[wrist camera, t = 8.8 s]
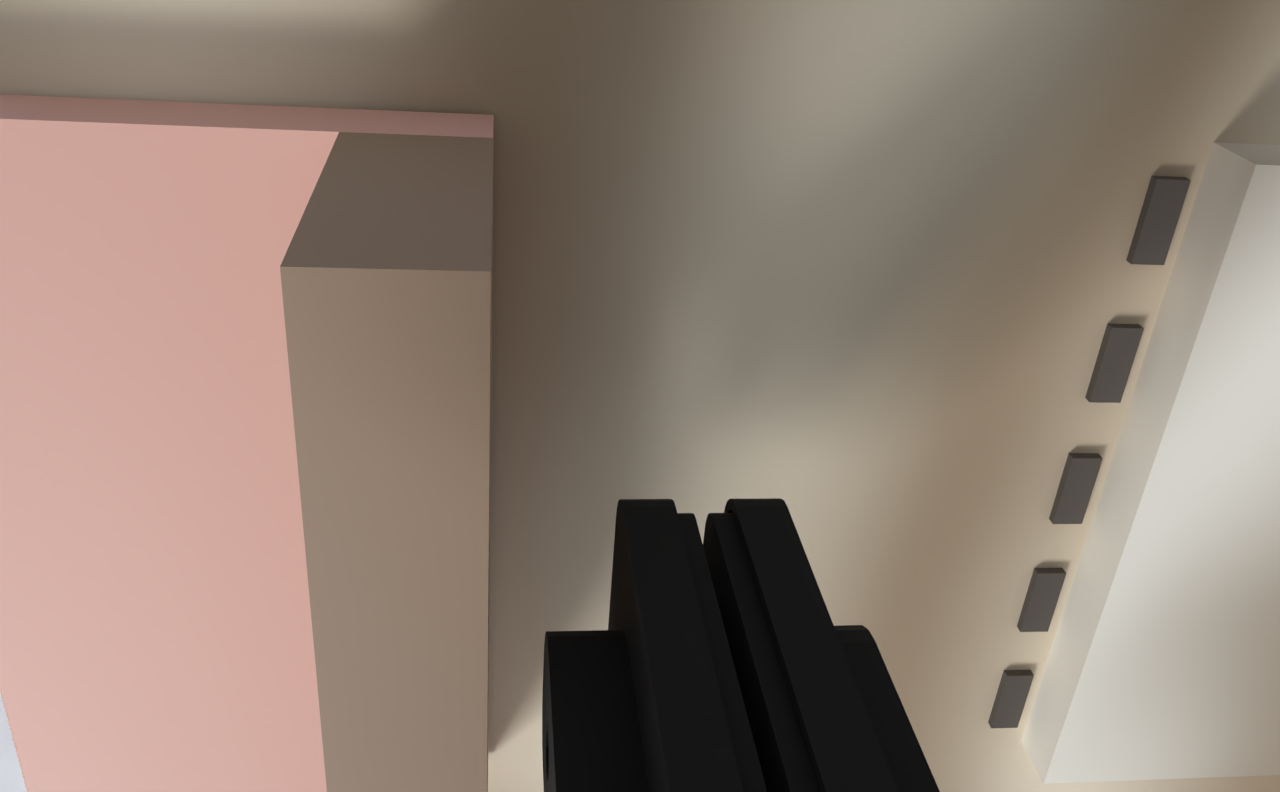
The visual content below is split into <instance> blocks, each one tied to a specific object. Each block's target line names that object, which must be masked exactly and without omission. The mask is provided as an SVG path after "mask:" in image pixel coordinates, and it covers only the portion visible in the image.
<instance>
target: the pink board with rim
mask: <svg viewBox="0 0 1280 792" xmlns="http://www.w3.org/2000/svg"><path fill="white" fill-rule="evenodd" d="M493 123H494V115H485V114H461V113H437V112H413V111H389V110H364V109H340V108H316V107H292V106H268V105H243V104H219V103H195V102H171V101H147V100H123V99H98V98H74V97H50V96H26V95H2V94H0V693H1V697H2V700H3V704H4V708H5V711H6V715H7V719H8V722H9V726H10V730H11V734H12V737H13V741H14V745H15V748H16V752H17V756H18V759H19V763H20V767H21V770H22V774H23V778H24V782H25V785H26V789H27V792H488V731H489V609H490V488H491V366H492V245H493Z"/></svg>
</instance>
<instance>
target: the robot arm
mask: <svg viewBox="0 0 1280 792" xmlns="http://www.w3.org/2000/svg"><path fill="white" fill-rule="evenodd" d="M542 752H543V784H544V792H940V791H939V789H938V786H937V784H936V782H935V779H934V777H933V775H932V772H931V770H930V768H929V765H928V763H927V761H926V758H925V756H924V754H923V751H922V749H921V747H920V744H919V742H918V740H917V737H916V735H915V733H914V730H913V728H912V726H911V723H910V721H909V719H908V716H907V714H906V712H905V709H904V707H903V705H902V702H901V700H900V698H899V695H898V693H897V691H896V688H895V686H894V684H893V681H892V679H891V677H890V674H889V672H888V670H887V667H886V665H885V663H884V660H883V658H882V656H881V653H880V651H879V649H878V646H877V644H876V642H875V640H874V638H873V636H872V635H871V633H870V631H869V630H868V629H867V628H866V627H864V626H863V625H841V626H834V625H833V622H832V620H831V617H830V615H829V612H828V610H827V607H826V604H825V602H824V599H823V597H822V594H821V592H820V589H819V586H818V584H817V581H816V579H815V576H814V574H813V571H812V568H811V566H810V563H809V561H808V558H807V556H806V553H805V550H804V548H803V545H802V543H801V540H800V538H799V535H798V532H797V530H796V527H795V525H794V522H793V520H792V517H791V514H790V512H789V509H788V507H787V505H786V503H785V501H784V500H783V499H781V498H765V499H729V500H728V501H727V503H726V506H725V510H724V513H709V514H708V516H707V519H706V524H705V531H704V540H703V544H702V540H701V536H700V532H699V528H698V524H697V521H696V517H695V515H694V514H693V513H677V510H676V506H675V503H674V500H672V499H619V501H618V505H617V511H616V523H615V538H614V552H613V566H612V580H611V594H610V609H609V623H608V630H592V631H546V633H545V641H544V665H543V696H542Z"/></svg>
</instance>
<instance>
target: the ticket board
mask: <svg viewBox="0 0 1280 792" xmlns="http://www.w3.org/2000/svg"><path fill="white" fill-rule="evenodd" d="M0 94H2V95H26V96H50V97H74V98H98V99H123V100H147V101H171V102H195V103H219V104H243V105H268V106H292V107H316V108H340V109H364V110H389V111H413V112H437V113H461V114H485V115H494V123H493V245H492V366H491V488H490V609H489V731H488V792H544V784H543V752H542V696H543V665H544V641H545V633H546V631H592V630H608V623H609V609H610V594H611V580H612V566H613V552H614V538H615V523H616V511H617V505H618V501H619V499H672V500H674V503H675V506H676V510H677V513H693V514H694V515H695V517H696V521H697V524H698V528H699V532H700V536H701V540H702V544H703V540H704V531H705V524H706V519H707V516H708V514H709V513H724V510H725V506H726V503H727V501H728V500H729V499H765V498H781V499H783V500H784V501H785V503H786V505H787V507H788V509H789V512H790V514H791V517H792V520H793V522H794V525H795V527H796V530H797V532H798V535H799V538H800V540H801V543H802V545H803V548H804V550H805V553H806V556H807V558H808V561H809V563H810V566H811V568H812V571H813V574H814V576H815V579H816V581H817V584H818V586H819V589H820V592H821V594H822V597H823V599H824V602H825V604H826V607H827V610H828V612H829V615H830V617H831V620H832V622H833V625H834V626H841V625H863V626H864V627H866V628H867V629H868V630H869V631H870V633H871V635H872V636H873V638H874V640H875V642H876V644H877V646H878V649H879V651H880V653H881V656H882V658H883V660H884V663H885V665H886V667H887V670H888V672H889V674H890V677H891V679H892V681H893V684H894V686H895V688H896V691H897V693H898V695H899V698H900V700H901V702H902V705H903V707H904V709H905V712H906V714H907V716H908V719H909V721H910V723H911V726H912V728H913V730H914V733H915V735H916V737H917V740H918V742H919V744H920V747H921V749H922V751H923V754H924V756H925V758H926V761H927V763H928V765H929V768H930V770H931V772H932V775H933V777H934V779H935V782H936V784H937V786H938V789H939V791H940V792H1280V0H0Z"/></svg>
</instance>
